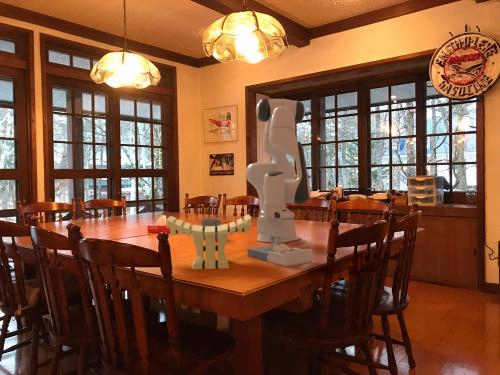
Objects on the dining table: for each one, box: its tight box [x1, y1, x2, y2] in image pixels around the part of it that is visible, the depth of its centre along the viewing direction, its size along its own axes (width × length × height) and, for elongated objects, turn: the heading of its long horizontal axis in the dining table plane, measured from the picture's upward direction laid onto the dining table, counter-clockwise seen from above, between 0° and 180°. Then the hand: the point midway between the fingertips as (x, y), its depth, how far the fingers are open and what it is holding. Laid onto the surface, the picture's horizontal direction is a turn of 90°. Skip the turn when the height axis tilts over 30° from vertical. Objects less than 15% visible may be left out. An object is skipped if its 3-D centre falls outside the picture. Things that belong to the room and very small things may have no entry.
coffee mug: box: [200, 217, 222, 241], centre depth 213 cm, size 13×10×10 cm
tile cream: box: [273, 243, 291, 254], centre depth 158 cm, size 4×4×2 cm
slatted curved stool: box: [166, 214, 252, 270], centre depth 152 cm, size 30×16×18 cm, turn 95°
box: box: [266, 247, 313, 268], centre depth 154 cm, size 13×11×5 cm
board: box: [247, 244, 293, 262], centre depth 164 cm, size 13×13×3 cm
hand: (275, 247), depth 161 cm, fingers closed
